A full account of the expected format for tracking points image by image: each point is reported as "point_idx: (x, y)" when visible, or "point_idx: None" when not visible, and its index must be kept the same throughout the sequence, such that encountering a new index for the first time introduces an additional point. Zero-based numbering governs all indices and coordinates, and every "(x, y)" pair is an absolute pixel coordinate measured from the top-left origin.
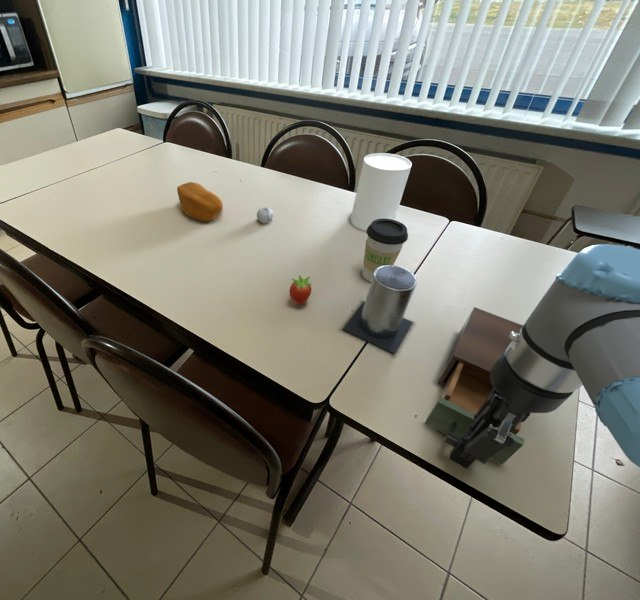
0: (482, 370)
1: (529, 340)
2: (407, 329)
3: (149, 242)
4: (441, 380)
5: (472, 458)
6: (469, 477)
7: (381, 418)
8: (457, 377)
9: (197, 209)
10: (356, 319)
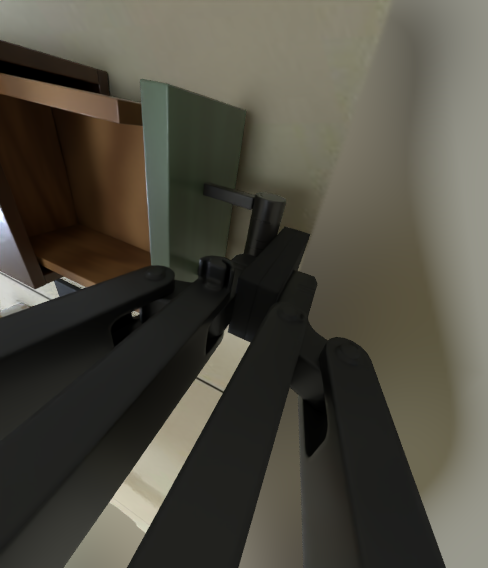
0: (16, 221)
1: None
2: (70, 288)
3: (156, 494)
4: None
5: (313, 295)
6: (309, 195)
7: (244, 344)
8: (81, 279)
9: None
10: None
